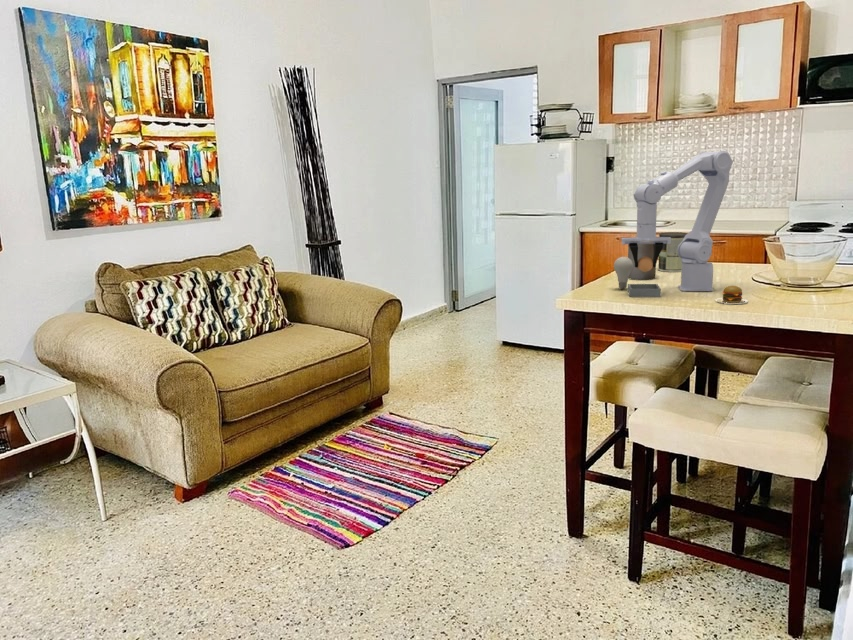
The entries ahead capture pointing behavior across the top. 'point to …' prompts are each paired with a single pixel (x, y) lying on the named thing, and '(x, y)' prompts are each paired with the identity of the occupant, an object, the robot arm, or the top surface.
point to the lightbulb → (623, 270)
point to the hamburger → (732, 295)
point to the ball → (645, 264)
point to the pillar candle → (643, 251)
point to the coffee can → (671, 253)
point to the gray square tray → (644, 290)
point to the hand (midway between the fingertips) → (645, 266)
